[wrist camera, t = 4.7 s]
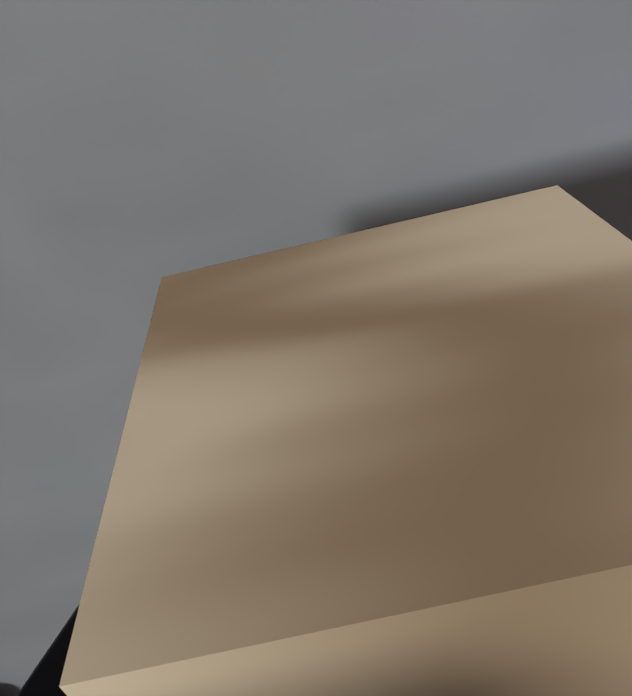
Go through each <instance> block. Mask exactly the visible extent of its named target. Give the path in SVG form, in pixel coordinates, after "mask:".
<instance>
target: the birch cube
mask: <svg viewBox="0 0 632 696" xmlns="http://www.w3.org/2000/svg"><path fill="white" fill-rule="evenodd" d="M59 687H60V688H61V689H62V691H63V692H64V693H65V694H66V695H67V696H632V241H631V240H630V239H628V238H627V237H626V236H624V235H623V234H622V233H620V232H619V231H618V230H616V229H615V228H614V227H612V226H611V225H610V224H608V223H607V222H606V221H604V220H603V219H602V218H600V217H599V216H598V215H596V214H595V213H594V212H592V211H591V210H590V209H588V208H587V207H586V206H584V205H583V204H582V203H580V202H579V201H578V200H576V199H575V198H574V197H572V196H571V195H570V194H568V193H567V192H566V191H564V190H563V189H562V188H560V187H559V186H558V185H556V186H552V187H548V188H543V189H539V190H535V191H530V192H526V193H522V194H517V195H513V196H509V197H505V198H500V199H496V200H492V201H487V202H483V203H479V204H475V205H470V206H466V207H462V208H457V209H453V210H449V211H444V212H440V213H436V214H432V215H427V216H423V217H419V218H414V219H410V220H406V221H402V222H397V223H393V224H389V225H384V226H380V227H376V228H371V229H367V230H363V231H359V232H354V233H350V234H346V235H341V236H337V237H333V238H329V239H324V240H320V241H316V242H311V243H307V244H303V245H298V246H294V247H290V248H286V249H281V250H277V251H273V252H268V253H264V254H260V255H255V256H251V257H247V258H243V259H238V260H234V261H230V262H225V263H221V264H217V265H213V266H208V267H204V268H200V269H195V270H191V271H187V272H182V273H178V274H174V275H170V276H165V277H162V278H161V282H160V286H159V290H158V294H157V298H156V302H155V306H154V310H153V314H152V318H151V322H150V326H149V330H148V334H147V338H146V342H145V346H144V350H143V354H142V358H141V362H140V366H139V370H138V374H137V378H136V382H135V386H134V390H133V394H132V398H131V402H130V406H129V410H128V414H127V418H126V422H125V426H124V430H123V434H122V438H121V442H120V446H119V450H118V454H117V458H116V462H115V466H114V469H113V473H112V477H111V481H110V485H109V489H108V493H107V497H106V501H105V505H104V509H103V513H102V517H101V521H100V525H99V529H98V533H97V537H96V541H95V545H94V549H93V553H92V557H91V561H90V565H89V569H88V573H87V577H86V581H85V585H84V589H83V593H82V597H81V601H80V605H79V609H78V613H77V617H76V621H75V625H74V629H73V633H72V637H71V641H70V645H69V649H68V653H67V657H66V661H65V665H64V669H63V673H62V677H61V681H60V685H59Z"/></svg>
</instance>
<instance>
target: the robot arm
mask: <svg viewBox="0 0 632 696" xmlns="http://www.w3.org/2000/svg"><path fill="white" fill-rule="evenodd" d="M79 605H80V604H79ZM79 605H78V607H77V608H76V610H75V611H74V613H73V614H72V616H71V617H70V618H69V620H68V621H67V623H66V624H65V626H64V627H63V629H62V630H61V632H60V633H59V635H58V636H57V637H56V639H55V640H54V642H53V643H52V645H51V646H50V648H49V649H48V651H47V652H46V654H45V655H44V656H43V658H42V659H41V661H40V662H39V664H38V665H37V667H36V668H35V670H34V671H33V673H32V674H31V675H30V677H29V678H28V680H27V681H26V683H25V684H24V686H23V687H22V689H21V690H20V691H19V693H18V694H17V696H67V695H66V694H65V693H64V692H63V691H62V689H61V688H60V687H59V685H60V681H61V677H62V673H63V669H64V665H65V661H66V657H67V653H68V649H69V645H70V641H71V637H72V633H73V629H74V625H75V621H76V617H77V613H78V609H79Z"/></svg>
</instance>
